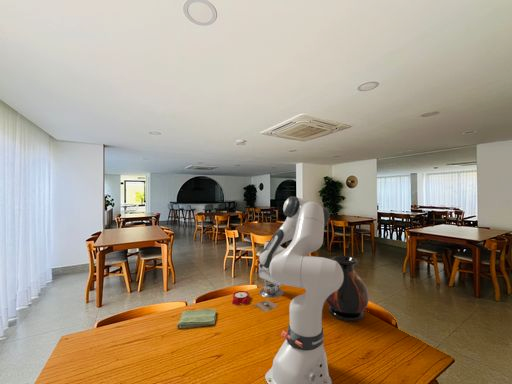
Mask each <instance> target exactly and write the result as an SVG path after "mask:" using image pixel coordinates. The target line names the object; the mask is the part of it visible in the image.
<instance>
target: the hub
mask: <svg viewBox="0 0 512 384" xmlns="http://www.w3.org/2000/svg"><path fill="white" fill-rule="evenodd" d="M280 287H281V286H279V291H276V292H274V293H269V292H268V293H266V292H265V290H264V287H263V288H262V289H260V290H259V294H260V296H262V297H265V298H269V299H270V298H271V299H273V298H274V299H275V298H279V297H282V295H284V290H283V289H281V288H280Z"/></svg>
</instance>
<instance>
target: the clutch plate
mask: <svg viewBox="0 0 512 384" xmlns="http://www.w3.org/2000/svg"><path fill="white" fill-rule="evenodd" d="M274 287H276V285H275V283H272V282H268V284H267V285H266V284H265V285H264V286H263V288H264V290H265V292H266V293H268V292H269V293H274V292H276V291H275V290H274ZM279 287H280V285H279V286H278V290H277V291H279Z"/></svg>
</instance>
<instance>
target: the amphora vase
mask: <svg viewBox="0 0 512 384" xmlns="http://www.w3.org/2000/svg"><path fill="white" fill-rule="evenodd" d="M330 259H331V260H334V261H337V262H338V263H339V265H340V266H341V268H342V270H343V275H344V279H343V283H342V285H341V287H340V288H339V289H338V290H337V291H335V292H334V293H332V294H331V295H330V296H329V297H328V298H327V299H326V301H325V302H326V304H327V305H328V312H329V313H330V315H331V316H333V318H335V319H338V320H340V321H344V322H347V323H349V322H350V323H354V322H359V321H361V320H362V319H363V318H364V311H365V310H366V308H367V307H368V304H369V300H370V299H369V292H368V287H367V285H366V284H365V281H364V280H363V279H362V278H361V277H360V275H358V274H357V272H356V270H355V269H354V266H355V265H357V264H358V263H359V261H358V260H357V259H356V258H354V257H351V256H346V255H345V256H344V255H343V256H342V255H337V256H336V255H335V256H333V257H331V258H330Z"/></svg>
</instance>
